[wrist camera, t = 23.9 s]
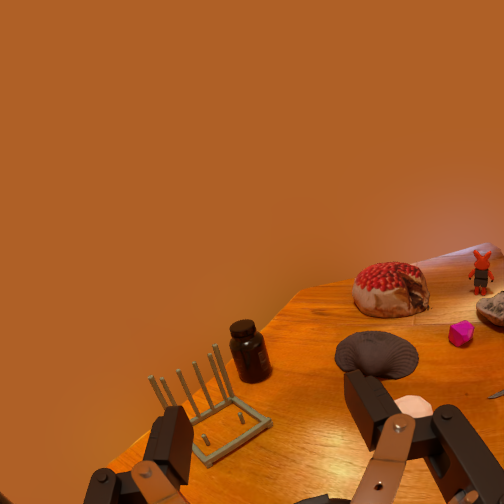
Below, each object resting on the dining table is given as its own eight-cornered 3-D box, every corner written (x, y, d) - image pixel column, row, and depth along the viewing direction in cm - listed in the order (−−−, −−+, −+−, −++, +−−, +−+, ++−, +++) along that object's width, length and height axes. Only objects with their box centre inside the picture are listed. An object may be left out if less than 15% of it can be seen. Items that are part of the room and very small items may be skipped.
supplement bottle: (261, 360, 59) (250, 313, 56) (278, 373, 53) (266, 323, 50) (234, 372, 56) (219, 325, 53) (248, 388, 50) (233, 338, 47)
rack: (208, 468, 32) (175, 414, 29) (176, 431, 41) (146, 376, 38) (273, 425, 39) (257, 366, 36) (234, 398, 48) (215, 342, 45)
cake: (427, 325, 53) (428, 285, 51) (339, 313, 71) (335, 278, 69) (442, 285, 68) (442, 252, 66) (372, 280, 86) (369, 251, 84)
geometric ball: (394, 456, 28) (369, 451, 26) (393, 411, 34) (369, 398, 32) (441, 442, 24) (425, 436, 22) (436, 394, 30) (419, 379, 28)
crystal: (465, 350, 40) (469, 331, 39) (444, 344, 45) (447, 325, 44) (474, 337, 42) (477, 319, 41) (454, 332, 47) (456, 313, 46)
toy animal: (493, 289, 55) (496, 247, 52) (491, 297, 52) (495, 254, 49) (470, 286, 62) (471, 246, 59) (466, 294, 59) (468, 252, 56)
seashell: (398, 401, 38) (407, 370, 36) (314, 367, 52) (313, 336, 50) (424, 355, 47) (432, 324, 44) (351, 331, 61) (352, 302, 58)
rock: (542, 291, 33) (497, 305, 37) (539, 324, 33) (494, 340, 37) (508, 282, 48) (466, 292, 52) (508, 310, 48) (466, 321, 52)
